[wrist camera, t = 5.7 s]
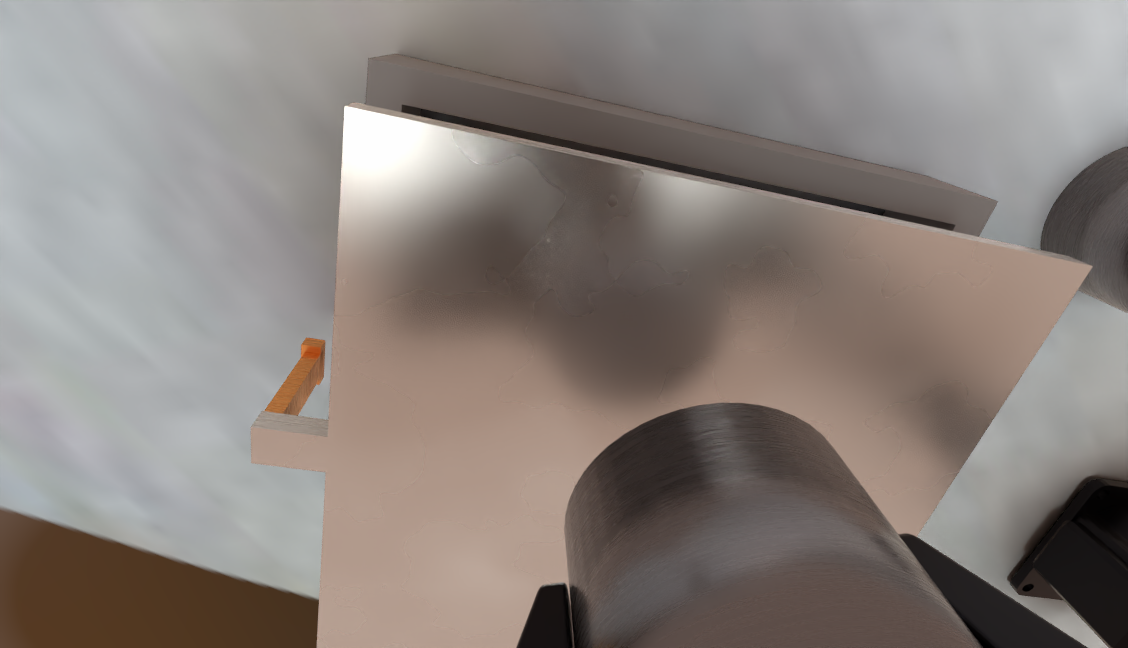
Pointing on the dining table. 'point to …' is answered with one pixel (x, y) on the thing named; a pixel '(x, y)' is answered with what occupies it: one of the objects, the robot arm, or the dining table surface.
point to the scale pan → (609, 356)
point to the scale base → (670, 141)
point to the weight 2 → (1095, 227)
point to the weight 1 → (741, 543)
